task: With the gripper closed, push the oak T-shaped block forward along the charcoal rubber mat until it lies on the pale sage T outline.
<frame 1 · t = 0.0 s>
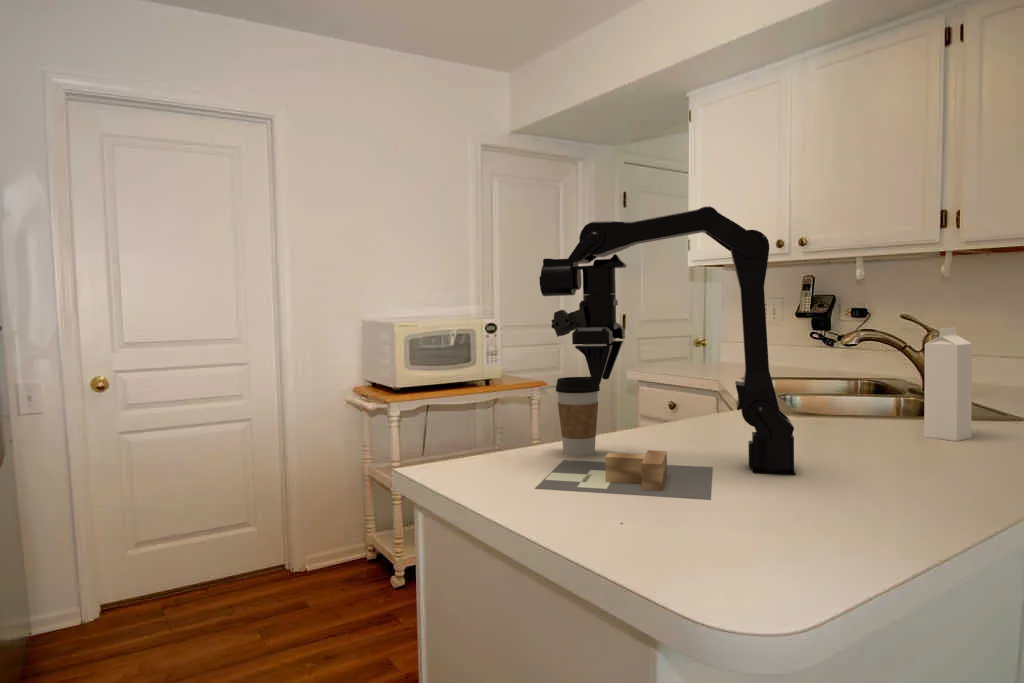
hand: (601, 382, 114), 15 cm above the counter, fingers open, 9 cm apart
coffee cup: (579, 455, 122), on the counter
milk: (947, 438, 128), on the counter
mat: (627, 479, 104), on the counter
t block: (654, 482, 100), resting on mat
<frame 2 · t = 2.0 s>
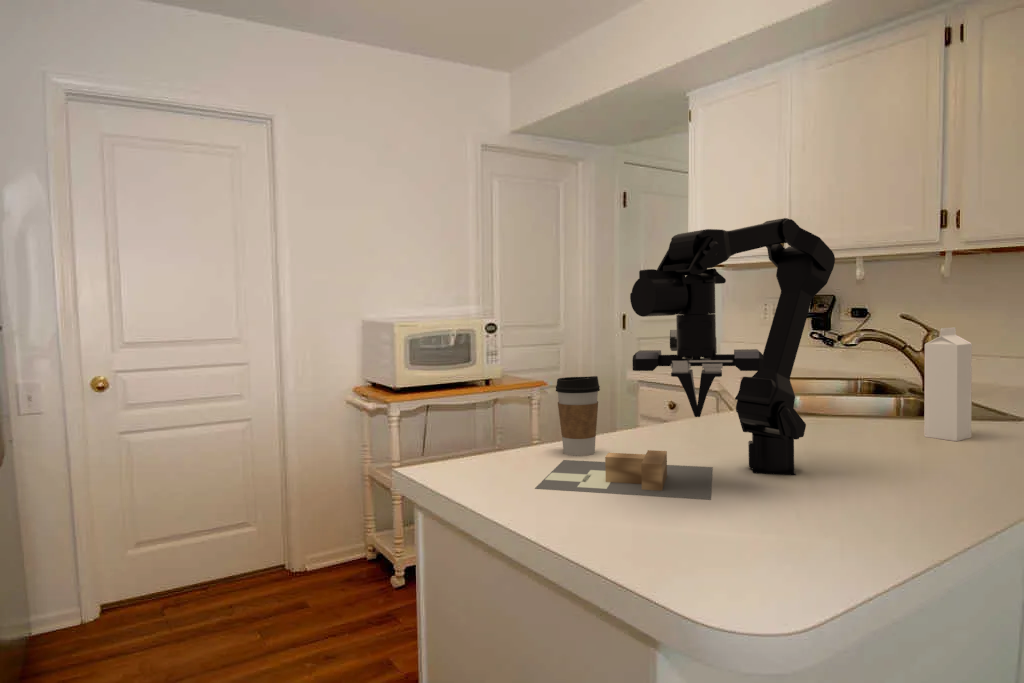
hand: (697, 416, 98), 11 cm above the counter, fingers closed
nothing on the counter moved.
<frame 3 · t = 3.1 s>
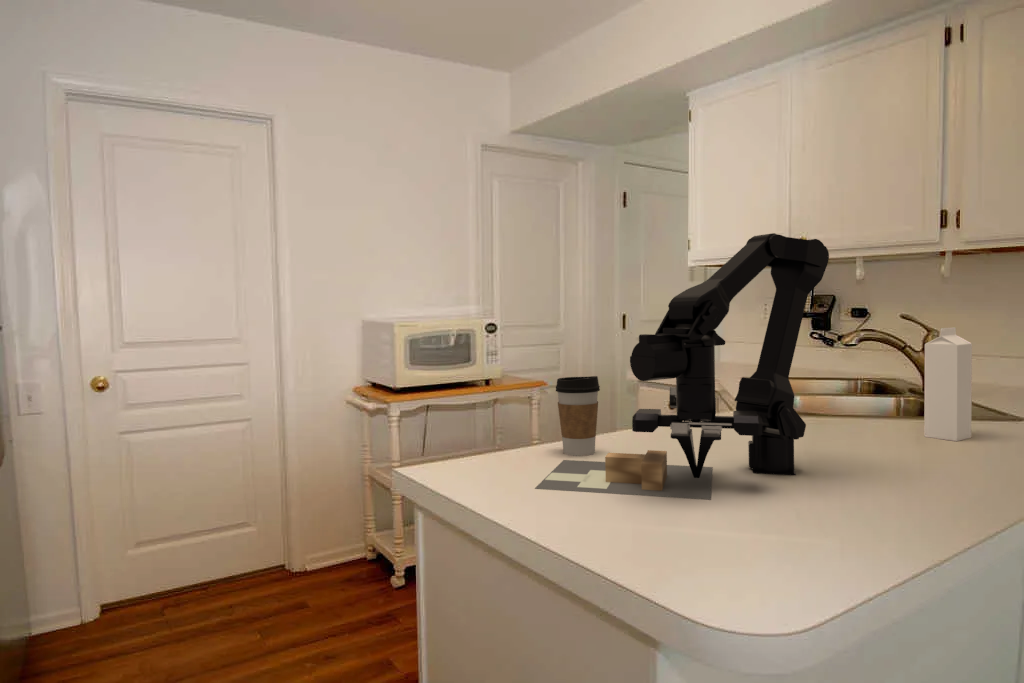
hand: (696, 477, 98), 2 cm above the counter, fingers closed
nothing on the counter moved.
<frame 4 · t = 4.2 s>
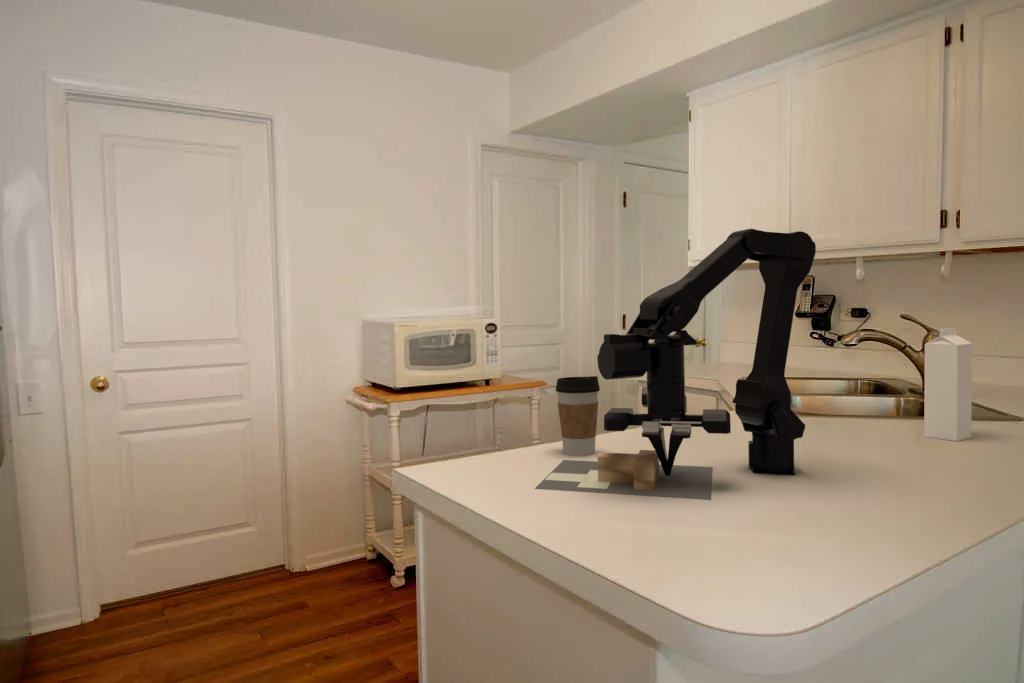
hand: (667, 475, 99), 2 cm above the counter, fingers closed
t block: (647, 481, 101), resting on mat, touching gripper
everything else where it was.
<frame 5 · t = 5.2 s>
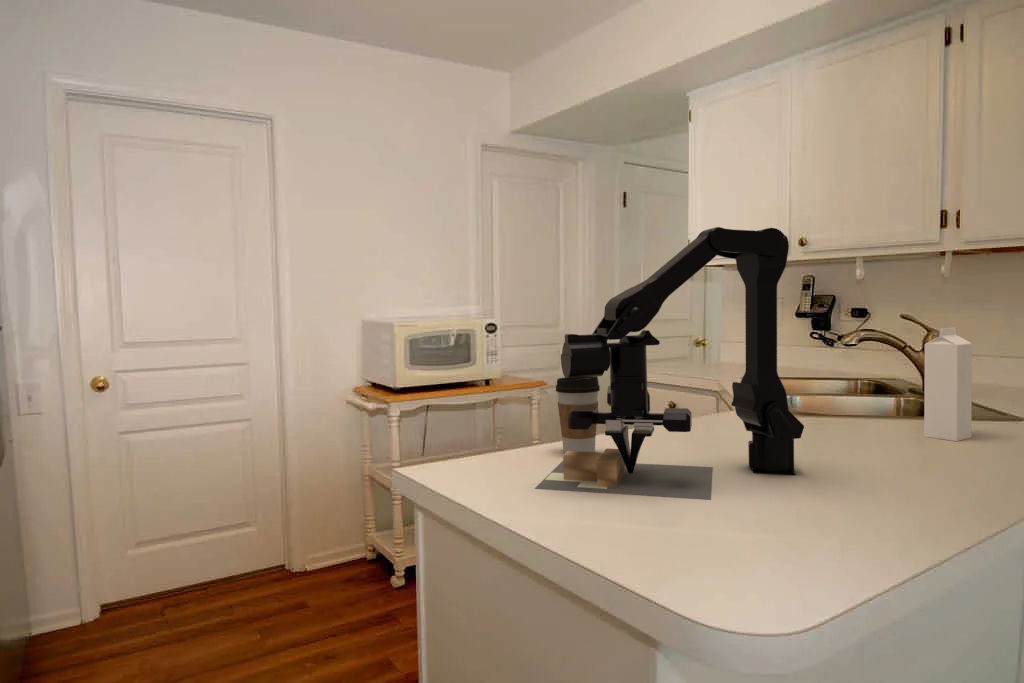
hand: (631, 472, 101), 2 cm above the counter, fingers closed
t block: (611, 479, 102), resting on mat, touching gripper
everything else where it was.
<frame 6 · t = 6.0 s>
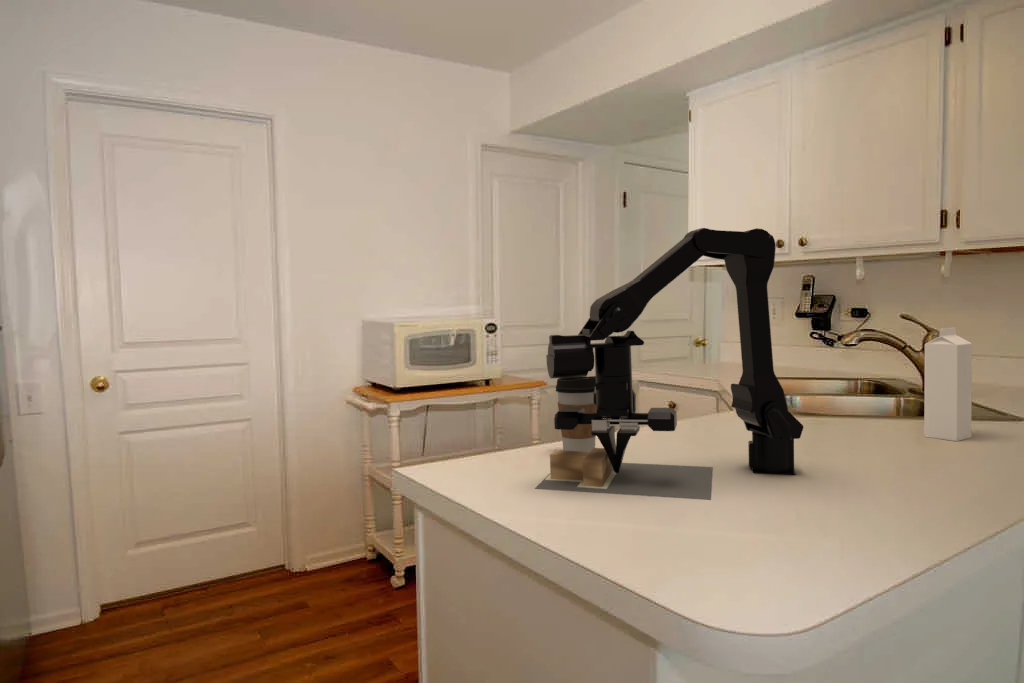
hand: (617, 472, 102), 2 cm above the counter, fingers closed
t block: (598, 478, 103), resting on mat, touching gripper
everything else where it was.
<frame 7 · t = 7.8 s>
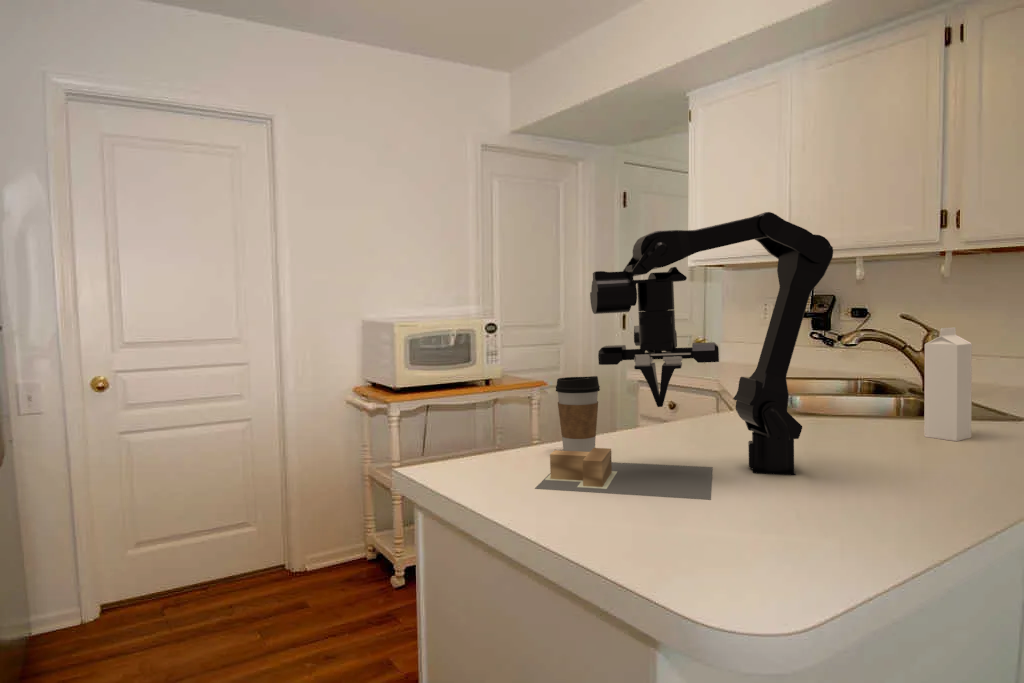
hand: (660, 406, 104), 12 cm above the counter, fingers closed
t block: (598, 478, 103), resting on mat
everything else where it was.
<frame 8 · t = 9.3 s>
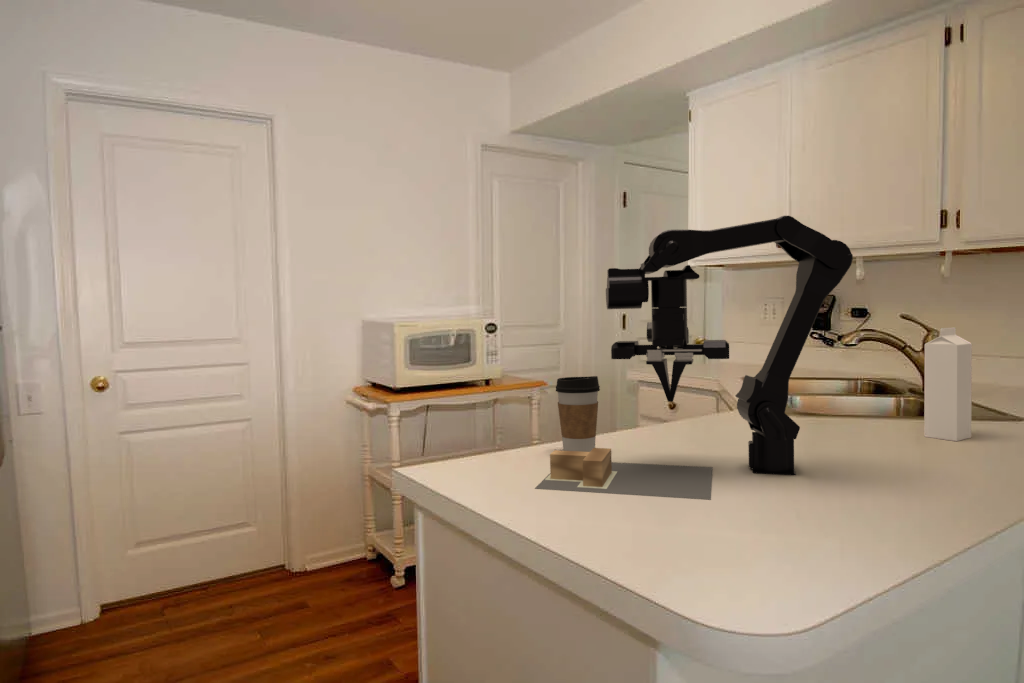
hand: (670, 401, 107), 12 cm above the counter, fingers closed
nothing on the counter moved.
at the end: t block 0.2 cm from the target spot, resting on mat; t block moved 9.0 cm from its start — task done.
